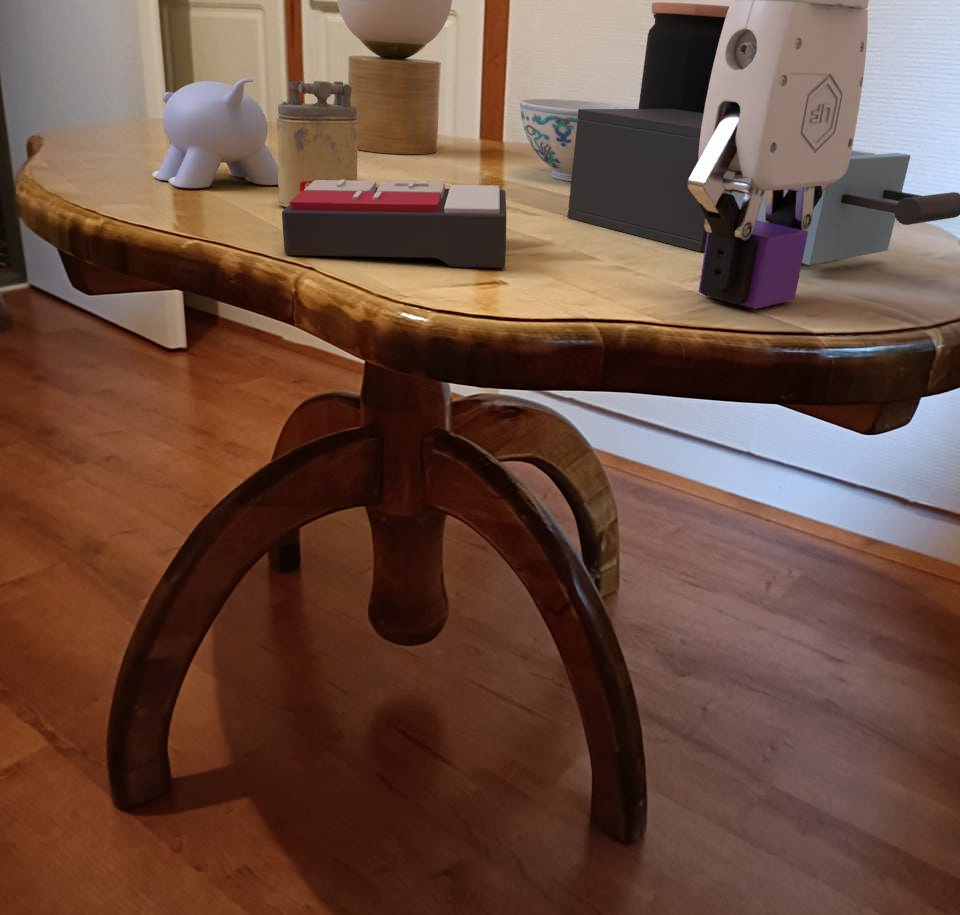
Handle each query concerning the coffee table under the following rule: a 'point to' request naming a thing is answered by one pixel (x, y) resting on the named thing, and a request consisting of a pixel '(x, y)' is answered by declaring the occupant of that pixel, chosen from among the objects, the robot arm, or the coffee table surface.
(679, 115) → the drawer cabinet
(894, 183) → the grey drawer
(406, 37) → the lamp
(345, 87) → the lighter
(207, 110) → the hippopotamus toy
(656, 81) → the coffee jar
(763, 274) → the purple cube
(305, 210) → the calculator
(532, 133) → the chinaware
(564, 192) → the coffee table surface
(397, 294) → the coffee table surface
